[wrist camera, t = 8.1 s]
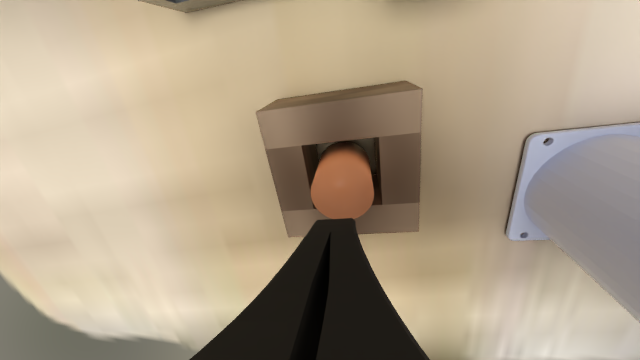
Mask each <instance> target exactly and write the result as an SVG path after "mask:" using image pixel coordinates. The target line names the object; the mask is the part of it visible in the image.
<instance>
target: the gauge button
mask: <svg viewBox="0 0 640 360" xmlns="http://www.w3.org/2000/svg"><path fill="white" fill-rule="evenodd" d="M311 199H312V202H313V204H314V206H315V207H316V208H317V210H318V211H319V212H321V213H322V214H323V215H325V216H326V217H329V218H331V219H343V218H353V219H355V218H358V217H360V216H361V215H363V214H364V213H365V212H367V210H368V209H369V208H370V207H371V205H372V202H373V199H374V189H373V182H372V175H371V169H370V162H369V158H368V155H367V153H366V152H365V151H364V149H363V148H361V147H360V146H359V145H357V144H355V143H352V142H346V141H344V142H337V143H334V144H332V145H330V146H329V147H328V148H326V149H325V151H324V152H323V153H322V155H321V158H320V161H319V164H318V167H317V170H316V174H315V177H314V180H313V183H312V186H311Z"/></svg>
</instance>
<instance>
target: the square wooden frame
mask: <svg viewBox="0 0 640 360" xmlns="http://www.w3.org/2000/svg"><path fill="white" fill-rule="evenodd" d="M256 115H257V119H258V123H259V127H260V131H261V134H262V138H263V142H264V146H265V150H266V154H267V157H268V161H269V165H270V169H271V173H272V176H273V180H274V184H275V188H276V192H277V196H278V199H279V203H280V207H281V211H282V215H283V219H284V222H285V226H286V230H287V234H288V237H304V236H306V234H307V233H308V232H309V230H310V229H311V227H312V226H313V224H314V223H315V222H316V221H317V220H325V219H331V218H329V217H326V216H325V215H323V214H322V213H321V212H319V211H318V210H317V208H316V207H315V206H314V204H313V202H312V199H311V186H312V183H313V180H314V177H315V174H316V170H317V167H318V164H319V162H318V156H317V150H316V144H320V143H329V142H338V141H347V140H356V139H365V138H374V139H375V156H376V174H377V175H372V182H373V189H374V199H373V202H372V205H371V207H370V208H369V209H368V210H367V212H365V213H364V214H363V215H361V216H360V217H358V218H355V219H354V220H355V222H356V230H357V234H373V233H396V232H419V202H420V164H421V126H422V88H420V87H418V86H416V85H413V84H411V83H409V82H407V81H400V82H394V83H387V84H380V85H373V86H366V87H359V88H353V89H346V90H339V91H332V92H325V93H319V94H312V95H305V96H298V97H291V98H285V99H278V100H276V101H274V102H272V103H271V104H269V105H267V106H265V107H264V108H262V109H260V110H259V111H257V112H256Z"/></svg>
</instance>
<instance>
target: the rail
mask: <svg viewBox="0 0 640 360" xmlns="http://www.w3.org/2000/svg"><path fill="white" fill-rule="evenodd" d="M138 1H142V2H146V3H150V4H154V5H157V6H161V7H165V8H169V9H173V10H177V11H181V12H185V13H187V12H191V11H196V10H200V9H205V8H209V7H213V6H218V5H222V4H227V3H231V2H235V1H240V0H138Z"/></svg>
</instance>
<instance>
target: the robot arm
mask: <svg viewBox="0 0 640 360" xmlns="http://www.w3.org/2000/svg"><path fill="white" fill-rule="evenodd" d="M546 138H549V140H548V142H546V143H544V144H543V142H544V140H545V139H546ZM522 233H524V234H522ZM506 236H507V237H508V238H509V239H510V240H513V241H520V240H549V239H551V240H552V241H553V242H554V243H555V244H556V245H557V246H558V247H559V248H560V249H561V250H562V251H563V252H565V253H566V254H567V255H568V256H569V257H570V258H571V259H572V260H573V261H574V262H575V263H576V264H577V265H578V266H580V267H581V268H582V269H583V270H584V271H585V272H586V273H587V274H588V275H589V276H590V277H591V278H592V279H593V280H594V281H596V282H597V283H598V284H599V285H600V286H601V287H602V288H603V289H604V290H605V291H606V292H607V293H608V294H609V295H611V296H612V297H613V298H614V299H615V300H616V301H617V302H618V303H619V304H620V305H621V306H622V307H623V308H624V309H626V310H627V311H628V312H629V313H630V314H631V315H632V316H633V317H634V318H635V319H636V320H637V321H638V322H639V323H640V122H639V123H629V124H619V125H609V126H599V127H590V128H580V129H570V130H560V131H550V132H541V133H534V134H532V135H530V136H529V137H528V138H527V140H526V143H525V147H524V152H523V157H522V161H521V166H520V170H519V175H518V180H517V184H516V189H515V193H514V198H513V203H512V207H511V212H510V216H509V221H508V226H507V230H506ZM190 360H430V359H429V358H428V357H427V355H426V354H425V352H424V351H423V350H422V348H421V347H420V346H419V344H418V343H417V342H416V340H415V339H414V337H413V336H412V334H411V333H410V331H409V330H408V328H407V327H406V325H405V324H404V322H403V321H402V319H401V318H400V316H399V315H398V313H397V312H396V310H395V308H394V307H393V305H392V304H391V302H390V300H389V299H388V297H387V295H386V294H385V292H384V290H383V288H382V287H381V285H380V283H379V281H378V279H377V277H376V276H375V274H374V272H373V270H372V268H371V266H370V264H369V261H368V259H367V257H366V255H365V253H364V250H363V248H362V245H361V243H360V240H359V237H358V234H357V230H356V222H355V220H354V219H353V218H343V219H325V220H317V221H316V222H315V223H314V224H313V226H312V227H311V229H310V230H309V232H308V233H307V234H306V236H305V237H304V239H303V240H302V242H301V243H300V244H299V246H298V247H297V249H296V250H295V251H294V252H293V254H292V255H291V256H290V258H289V259H288V260H287V262H286V263H285V264H284V266H283V267H282V268H281V269H280V270H279V272H278V273H277V274H276V275H275V276H274V278H273V279H272V280H271V281H270V282H269V283H268V285H267V286H266V287H265V288H264V289H263V290H262V291H261V293H260V294H259V295H258V296H257V297H256V298H255V299H254V300H253V301H252V302H251V303H250V304H249V305H248V306H247V307H246V308H245V309H244V310H243V311H242V312H241V313H240V314H239V315H238V316H237V317H236V318H235V319H234V320H233V321H232V322H231V323H230V324H229V325H228V326H227V327H226V328H225V329H224V330H223V331H221V332H220V333H219V334H218V335H217V336H216V337H215V338H214V339H213V340H211V341H210V342H209V343H208V344H207V345H206V346H205V347H204V348H203V349H201V350H200V351H199V352H198V353H197V354H196V355H194V356H193V357H192V358H191V359H190Z"/></svg>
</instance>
